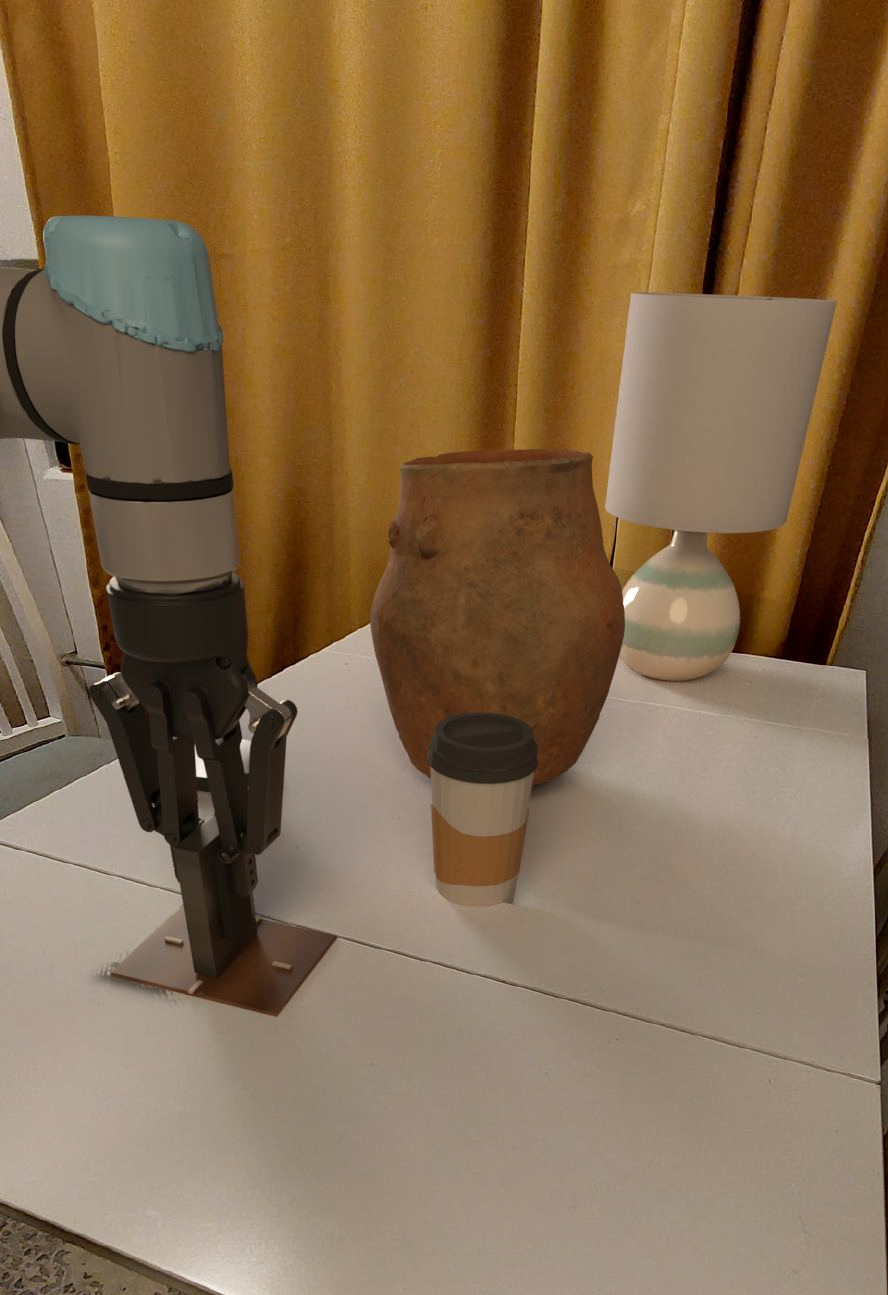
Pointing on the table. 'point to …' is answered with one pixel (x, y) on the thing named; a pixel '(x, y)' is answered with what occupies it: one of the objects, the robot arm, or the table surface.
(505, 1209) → the table surface
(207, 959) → the dark gray slab
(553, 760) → the pot
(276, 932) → the brown wooden board
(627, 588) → the lamp
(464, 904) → the coffee cup
